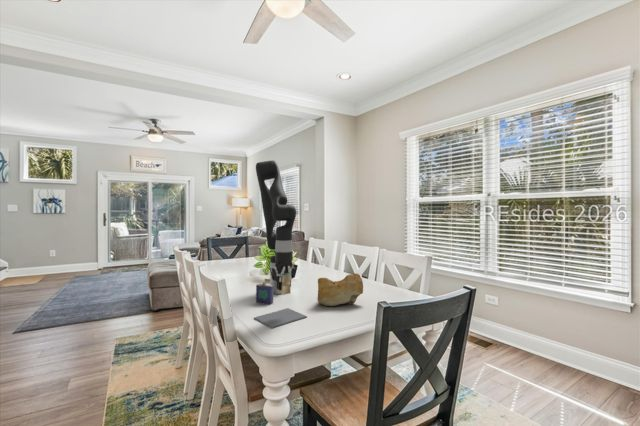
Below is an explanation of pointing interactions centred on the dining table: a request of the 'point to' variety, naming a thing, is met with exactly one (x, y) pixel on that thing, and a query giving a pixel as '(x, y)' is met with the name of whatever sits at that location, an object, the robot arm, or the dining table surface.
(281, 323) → the rubber mat
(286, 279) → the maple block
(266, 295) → the flask
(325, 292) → the rough brown rock
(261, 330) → the dining table surface
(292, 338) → the dining table surface
